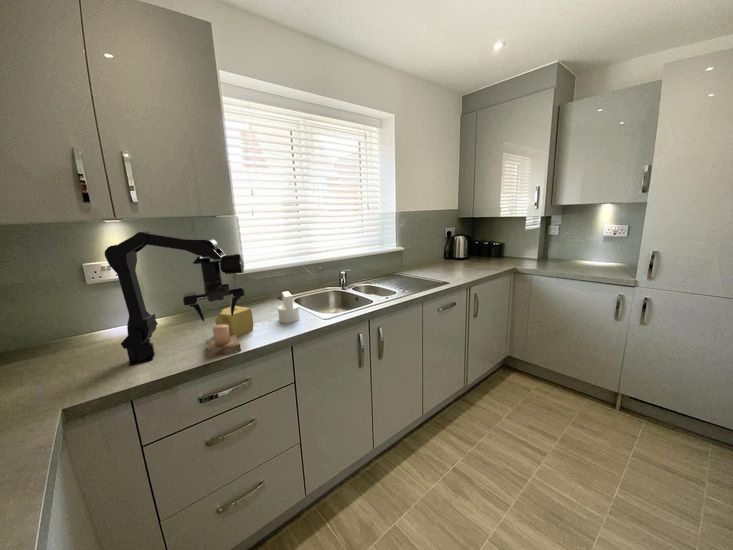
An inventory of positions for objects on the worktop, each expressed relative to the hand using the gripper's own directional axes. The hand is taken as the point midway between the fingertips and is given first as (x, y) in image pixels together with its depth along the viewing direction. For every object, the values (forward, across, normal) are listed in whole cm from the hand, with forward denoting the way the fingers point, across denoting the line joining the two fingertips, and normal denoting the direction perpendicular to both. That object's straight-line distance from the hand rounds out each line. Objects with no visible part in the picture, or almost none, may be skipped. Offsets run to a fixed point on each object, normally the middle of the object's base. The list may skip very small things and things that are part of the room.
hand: (218, 318), depth 105 cm
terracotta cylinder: (+9, 0, 0) cm, 9 cm away
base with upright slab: (+12, +29, +16) cm, 35 cm away
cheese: (+12, +6, +14) cm, 19 cm away
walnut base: (+12, 0, 0) cm, 12 cm away
